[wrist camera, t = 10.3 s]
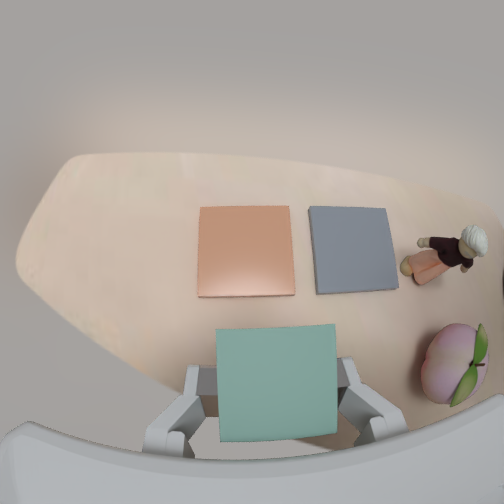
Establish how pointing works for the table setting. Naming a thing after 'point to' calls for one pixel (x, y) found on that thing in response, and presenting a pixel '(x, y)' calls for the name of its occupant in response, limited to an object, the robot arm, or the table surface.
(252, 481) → the robot arm
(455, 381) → the decorative fruit
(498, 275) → the table surface
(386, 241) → the slate tile
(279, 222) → the terracotta tile
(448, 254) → the grandmother figurine
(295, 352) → the green wooden block
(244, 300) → the table surface
